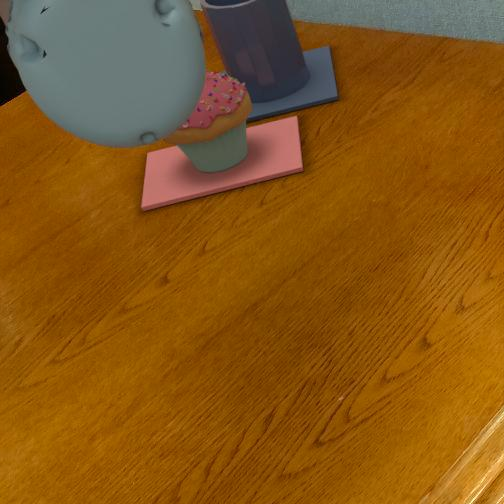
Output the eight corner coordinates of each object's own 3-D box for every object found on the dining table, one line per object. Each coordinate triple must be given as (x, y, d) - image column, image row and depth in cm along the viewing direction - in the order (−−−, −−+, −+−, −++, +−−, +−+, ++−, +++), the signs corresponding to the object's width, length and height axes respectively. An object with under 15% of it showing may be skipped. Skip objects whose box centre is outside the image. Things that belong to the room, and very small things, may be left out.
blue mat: (213, 131, 93) (211, 126, 93) (214, 77, 101) (213, 73, 101) (339, 99, 93) (337, 95, 93) (330, 49, 101) (329, 45, 101)
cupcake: (261, 125, 91) (209, -15, 82) (275, 166, 86) (220, 21, 77) (170, 153, 90) (107, 15, 81) (177, 196, 85) (111, 53, 76)
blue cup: (237, 114, 95) (198, 15, 88) (236, 81, 99) (200, -15, 93) (313, 95, 95) (280, -5, 88) (309, 63, 100) (278, -34, 93)
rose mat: (143, 211, 85) (141, 207, 85) (149, 156, 91) (147, 152, 91) (303, 171, 85) (302, 166, 85) (298, 119, 92) (296, 115, 92)
